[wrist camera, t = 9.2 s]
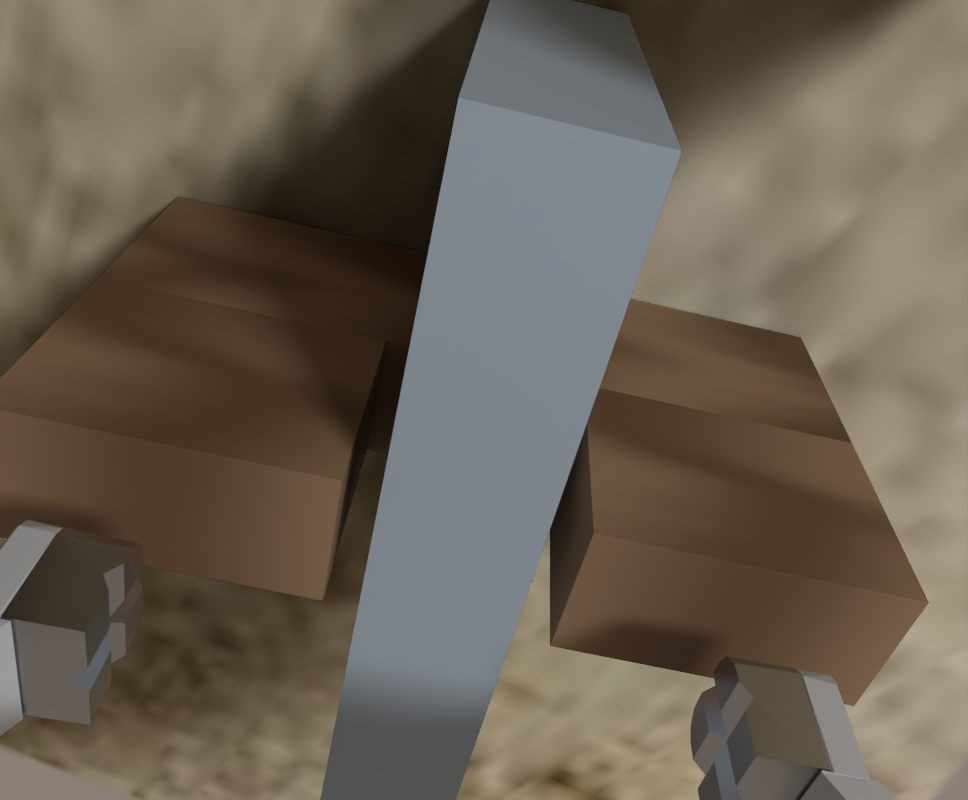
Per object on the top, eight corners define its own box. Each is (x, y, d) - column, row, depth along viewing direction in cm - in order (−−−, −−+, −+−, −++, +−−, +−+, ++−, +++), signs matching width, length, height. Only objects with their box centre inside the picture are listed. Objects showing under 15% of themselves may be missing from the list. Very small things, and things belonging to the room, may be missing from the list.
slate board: (496, -20, 16) (458, 97, 9) (627, 13, 16) (681, 150, 10) (382, 534, 24) (317, 812, 17) (472, 552, 24) (442, 835, 17)
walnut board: (175, 298, 20) (-9, 535, 14) (178, 196, 19) (-25, 405, 12) (758, 425, 21) (853, 705, 14) (801, 337, 20) (928, 602, 13)
